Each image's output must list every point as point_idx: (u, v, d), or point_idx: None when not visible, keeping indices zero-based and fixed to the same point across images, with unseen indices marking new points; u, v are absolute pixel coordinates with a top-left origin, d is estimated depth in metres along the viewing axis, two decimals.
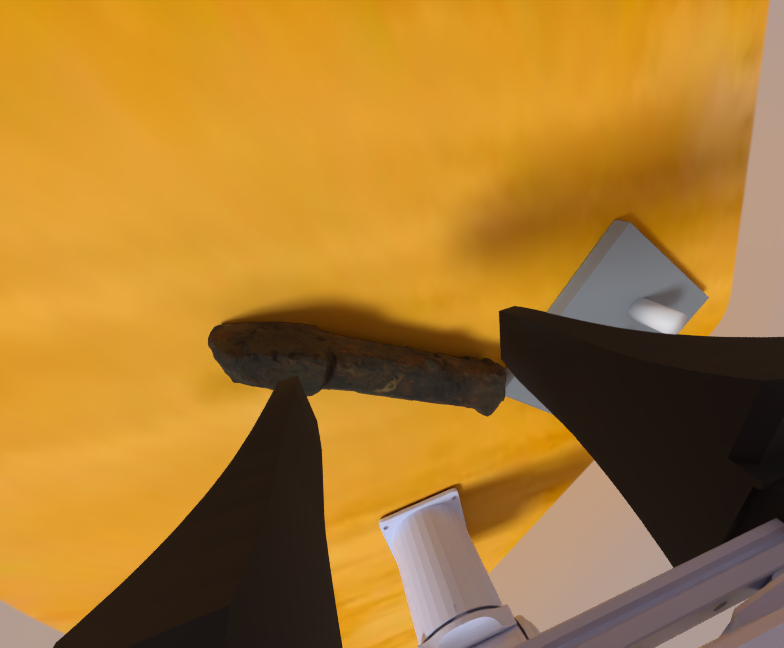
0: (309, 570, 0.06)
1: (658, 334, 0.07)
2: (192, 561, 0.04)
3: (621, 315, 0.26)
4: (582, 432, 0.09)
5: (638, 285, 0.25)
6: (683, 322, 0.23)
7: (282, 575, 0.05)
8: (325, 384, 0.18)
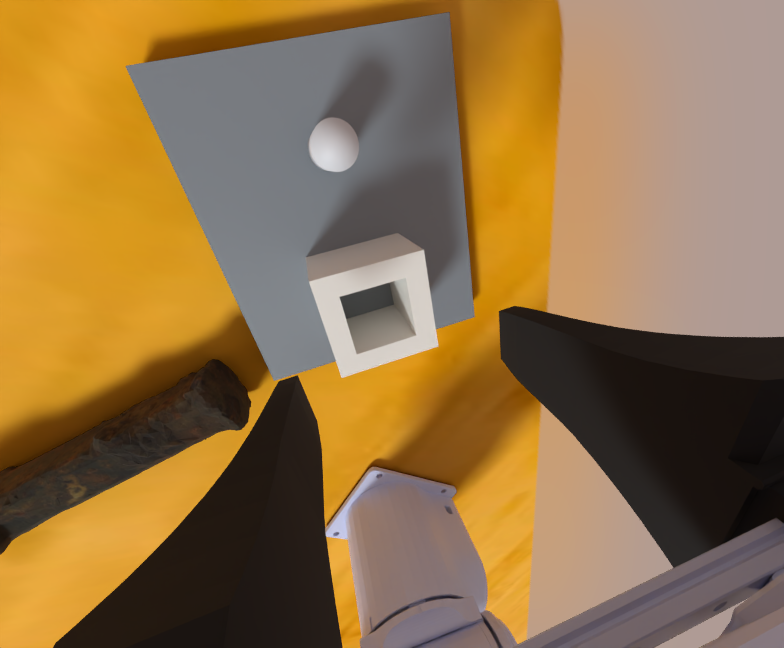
0: (309, 570, 0.06)
1: (658, 334, 0.07)
2: (192, 560, 0.04)
3: (313, 180, 0.15)
4: (582, 432, 0.09)
5: (280, 122, 0.14)
6: (344, 130, 0.12)
7: (282, 575, 0.05)
8: (10, 534, 0.16)
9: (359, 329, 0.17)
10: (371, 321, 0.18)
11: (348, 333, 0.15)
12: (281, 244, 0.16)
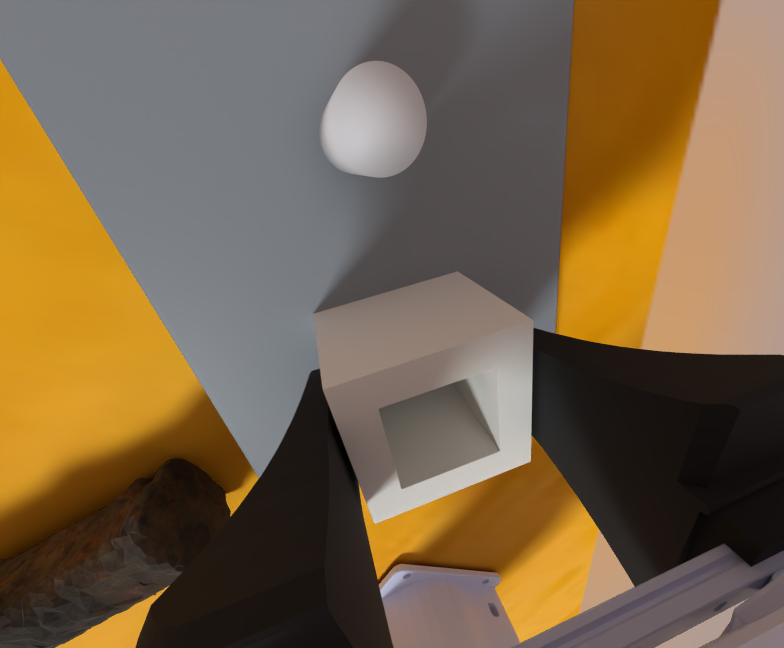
0: (360, 549, 0.06)
1: (620, 348, 0.07)
2: (267, 531, 0.05)
3: (327, 190, 0.09)
4: (549, 445, 0.09)
5: (269, 86, 0.08)
6: (400, 91, 0.06)
7: (347, 549, 0.05)
8: None
9: (397, 424, 0.11)
10: (414, 407, 0.11)
11: (390, 461, 0.08)
12: (272, 296, 0.10)
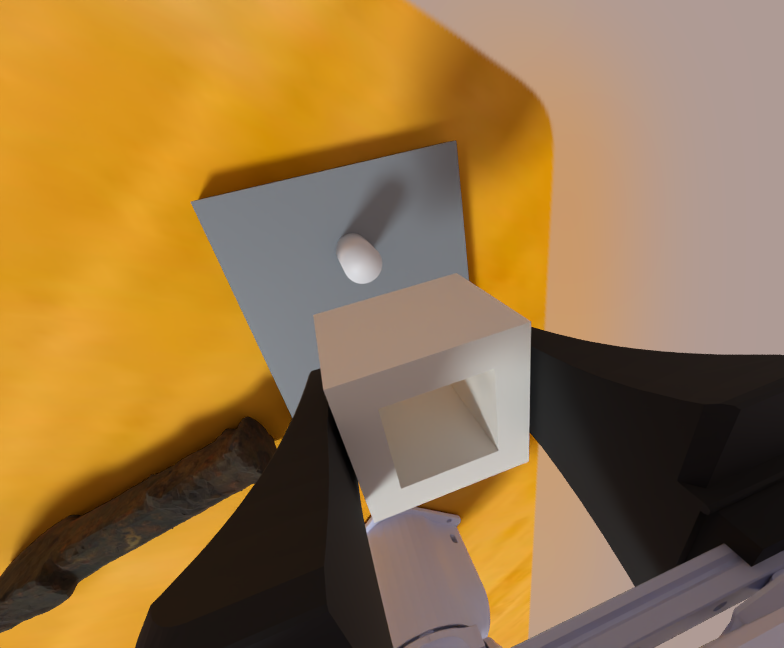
0: (360, 549, 0.06)
1: (620, 348, 0.07)
2: (267, 532, 0.05)
3: (339, 275, 0.18)
4: (550, 445, 0.09)
5: (313, 233, 0.17)
6: (370, 253, 0.15)
7: (346, 549, 0.05)
8: (77, 579, 0.19)
9: (397, 424, 0.11)
10: (413, 407, 0.12)
11: (389, 461, 0.08)
12: (310, 326, 0.19)
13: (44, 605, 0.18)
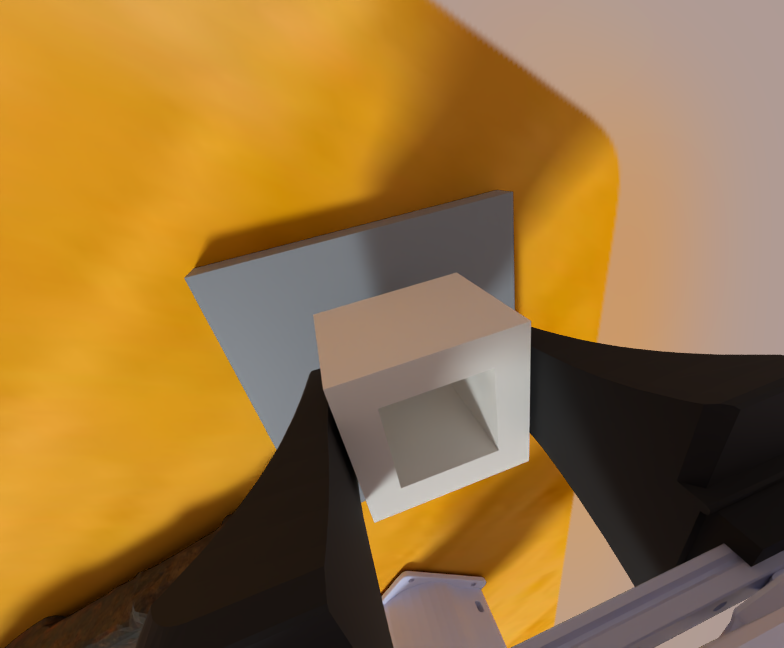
0: (360, 549, 0.06)
1: (620, 348, 0.07)
2: (267, 532, 0.05)
3: None
4: (549, 445, 0.09)
5: (337, 306, 0.13)
6: None
7: (347, 549, 0.05)
8: None
9: (397, 424, 0.11)
10: (413, 407, 0.12)
11: (389, 461, 0.08)
12: None
13: None
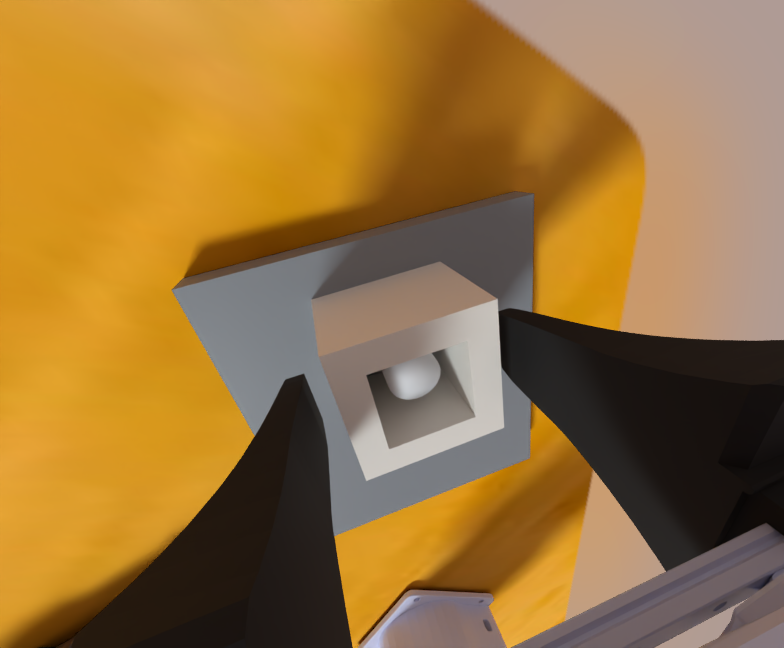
0: (320, 566, 0.06)
1: (650, 337, 0.07)
2: (208, 554, 0.04)
3: None
4: (576, 435, 0.09)
5: None
6: (426, 362, 0.10)
7: (296, 570, 0.05)
8: None
9: (387, 398, 0.12)
10: None
11: (378, 423, 0.10)
12: (332, 426, 0.14)
13: None
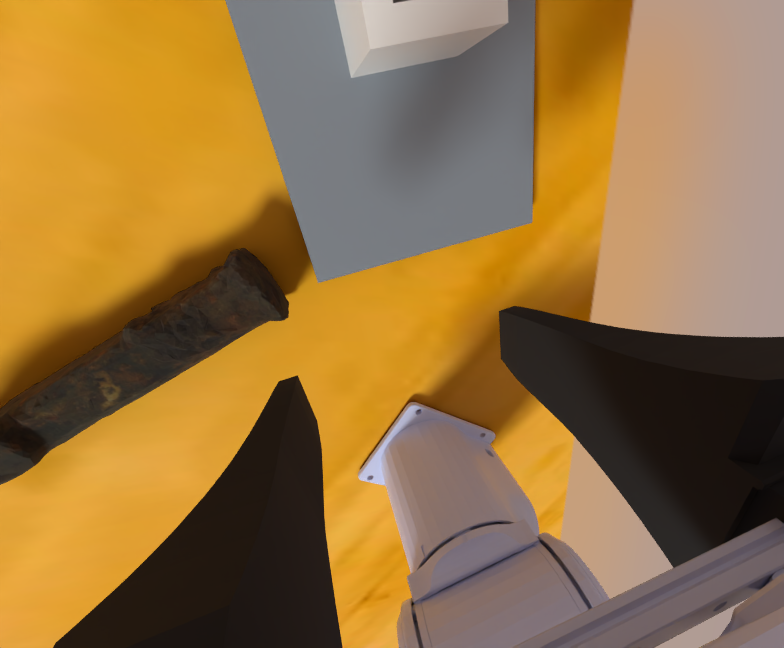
0: (309, 570, 0.06)
1: (658, 334, 0.07)
2: (191, 561, 0.04)
3: None
4: (582, 432, 0.09)
5: None
6: None
7: (282, 575, 0.05)
8: (44, 443, 0.15)
9: None
10: None
11: None
12: (335, 109, 0.14)
13: (2, 471, 0.14)
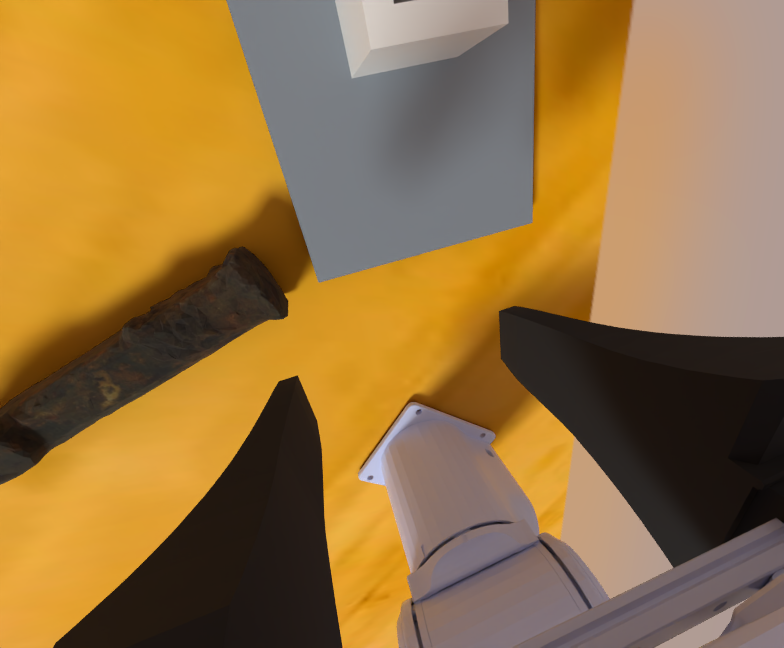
0: (309, 570, 0.06)
1: (658, 334, 0.07)
2: (192, 561, 0.04)
3: None
4: (582, 432, 0.09)
5: None
6: None
7: (282, 575, 0.05)
8: (44, 442, 0.15)
9: None
10: None
11: None
12: (336, 109, 0.14)
13: (3, 471, 0.14)
